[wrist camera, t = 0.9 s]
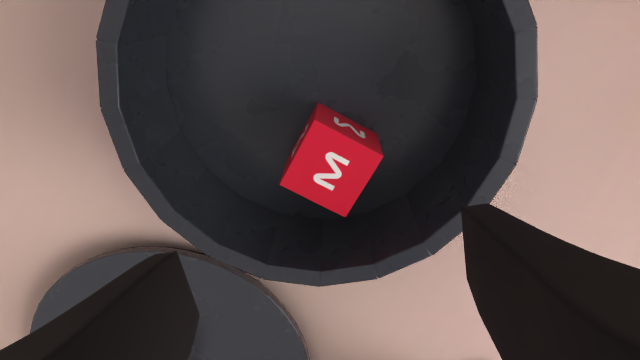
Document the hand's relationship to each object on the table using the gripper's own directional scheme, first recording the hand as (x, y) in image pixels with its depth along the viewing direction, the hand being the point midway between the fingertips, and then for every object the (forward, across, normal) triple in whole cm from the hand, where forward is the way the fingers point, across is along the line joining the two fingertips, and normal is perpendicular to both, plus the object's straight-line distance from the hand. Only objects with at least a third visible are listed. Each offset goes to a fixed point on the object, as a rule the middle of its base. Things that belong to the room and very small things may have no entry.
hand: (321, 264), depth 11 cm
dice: (+10, 0, 0) cm, 10 cm away
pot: (+10, 0, -3) cm, 10 cm away
